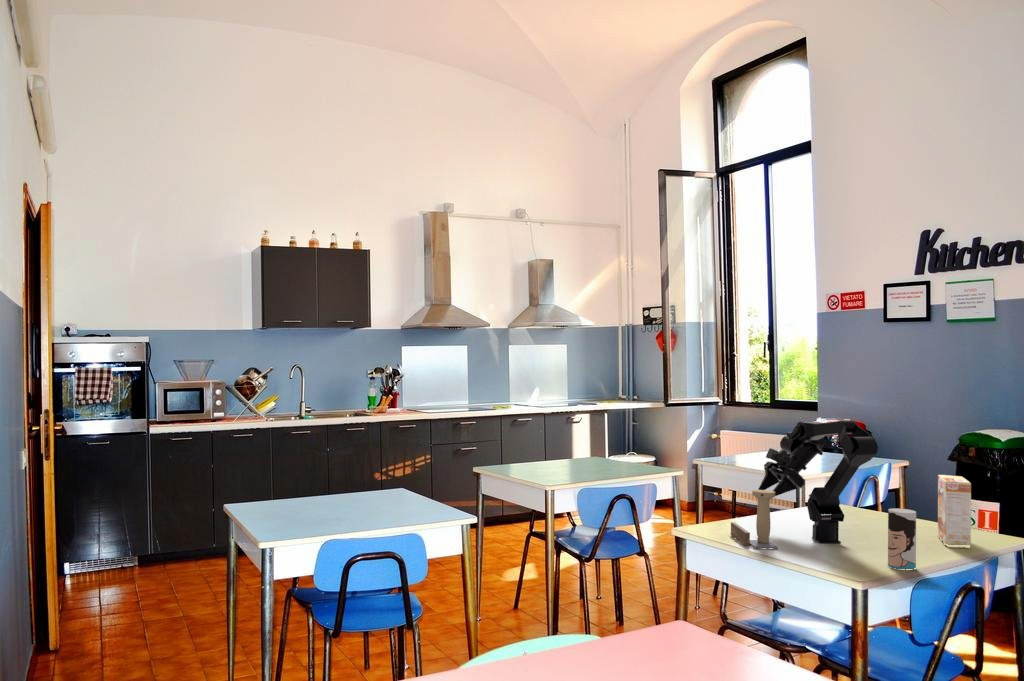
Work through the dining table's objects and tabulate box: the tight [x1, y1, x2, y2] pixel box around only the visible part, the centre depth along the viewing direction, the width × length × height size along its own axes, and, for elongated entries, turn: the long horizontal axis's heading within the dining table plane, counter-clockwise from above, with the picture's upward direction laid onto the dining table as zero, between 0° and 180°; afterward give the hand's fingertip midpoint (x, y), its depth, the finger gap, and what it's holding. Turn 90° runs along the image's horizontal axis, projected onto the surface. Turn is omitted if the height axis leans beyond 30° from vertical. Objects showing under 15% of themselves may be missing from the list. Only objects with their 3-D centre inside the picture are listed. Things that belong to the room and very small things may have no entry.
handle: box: [752, 489, 776, 543], centre depth 242 cm, size 5×6×15 cm
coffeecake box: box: [937, 474, 972, 547], centre depth 249 cm, size 15×7×20 cm, turn 160°
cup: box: [887, 507, 917, 570], centre depth 219 cm, size 7×7×15 cm
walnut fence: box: [730, 521, 751, 547], centre depth 247 cm, size 1×15×4 cm, turn 1°
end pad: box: [750, 539, 779, 550], centre depth 241 cm, size 7×8×1 cm
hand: (765, 493), depth 258 cm, fingers open, 9 cm apart
